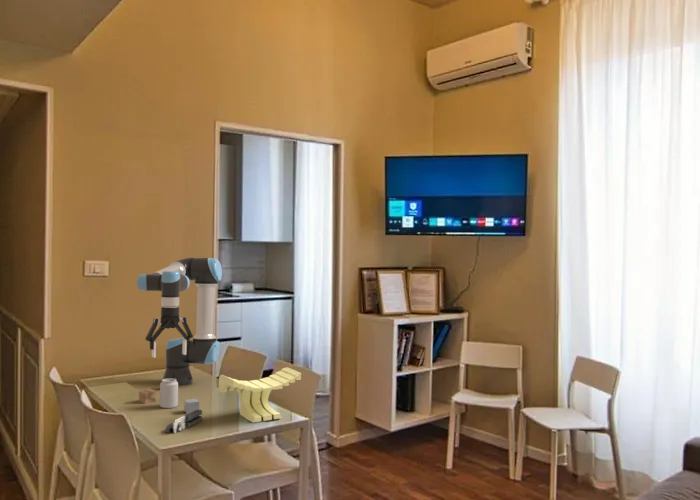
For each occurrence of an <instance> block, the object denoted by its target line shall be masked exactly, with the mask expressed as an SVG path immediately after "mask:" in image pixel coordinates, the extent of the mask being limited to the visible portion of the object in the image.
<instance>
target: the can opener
mask: <svg viewBox="0 0 700 500" xmlns="http://www.w3.org/2000/svg"><path fill="white" fill-rule="evenodd" d="M202 414H203V410H201V409H199V410H195V411H193V412H191V413H189V414H185V415H183V416H182V415H181V417H179V418H176V419H174V420H173V422H170V423H169V424H168V425H167V426H166V427H165V429H164V430H165V431H164V432H165V433H167V434H172V433H174V434H176V433H181V432H183V430H184V429H186V428H187V429H188V428H190V427H192V426H195V425H196V424H199V423H200V422H201V421H202V420H203V417H202V416H201V415H202Z"/></svg>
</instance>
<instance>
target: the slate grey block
mask: <svg viewBox="0 0 700 500" xmlns="http://www.w3.org/2000/svg"><path fill="white" fill-rule="evenodd" d="M183 404H184V406H183V407H184V409H183V410H184V411H183V412H185V413H186V414H185V415H187V414H189V413H191V412H193V411H195V410H200V401H199V399H198V398H191V399H189V398H188V399H184V403H183Z"/></svg>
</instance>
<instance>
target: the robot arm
mask: <svg viewBox="0 0 700 500" xmlns="http://www.w3.org/2000/svg"><path fill="white" fill-rule="evenodd" d="M222 269H223V268H222V265H221V262H220V261H219V259H217V258H215V257H214V258H213V257H185V258H180V259H178V260H176V261H173V262H171V263H169V264H168V266H166V267H164V268H161V269H159V270H157V271H155V272H152V273H149V274H148V273H143V274H139V275H138V277H137V279H136V283H137V284H136V285H137V288H138V290H139V291H145V292H161V298H160V299H161V301H160V304H161V305H160V306H161V308H160V318H156V317H155V318H153V320H152V325H151V326H150V329H149V330H148V332H147V335H146V337H145V341H147V342H149V350H151V357H152V358H155V359H156V358H157V357H156V356H157V355H156V354H157V350H156V349H157V339H158V337H159V336H160V335H161V334H162V333H163V331H164V330H165V329H176V330H177V331H178V332H179V334H180V335H181V336H182V337H177V338H171V339H169V340H167V341H166V347H165V371H164V373H163V375H162V378H161V381H162V380H163V379H169V378H172V379H176V381H177V382H178V387H179V386H188V385H191V384H193V382H194V381H193V380H194V379H193V378H194V377H193V375H192V372H191V368H190V365H191V364H192V365H193V364H196V365H197V364H199V365H200V364H201V365H202V364H203V365H214V364H215V363H216V362H217V360H218V358H219V354H220V348H221V346H220V345H221V343H220V342H219V341H218V340H217V336H216V335H215V334H214V325H215V324H214V322H215V321H214V319H215V293H216V291H215V288H216V287H217V286H218V285H219V282H221V281H222V278H223V277H222V276H223V270H222ZM190 281H194V285H195V286H196V287H197V293H196V294H197V296H196V297H197V298H196V299H197V300H196V301H197V302H196V327H195V328H196V330H195V331H196V332H195V335H194V336H193V333H192V331H191V329H190V326H189V325H188V321H187V317H185V316H182V317H180V307H179V306H180V293H181V292H184V291H187V289H189V287H190V283H191V282H190ZM180 322H181V324H182V327H183V328H182V327H181V326H180V325H179V323H180ZM160 323H161V325H160V326H159V327H158V329H156V328H157V326H158V325H159V324H160ZM183 329H184V330H185V331H184V330H183ZM155 330H156V331H155ZM191 339H192V340H191Z"/></svg>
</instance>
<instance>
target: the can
mask: <svg viewBox="0 0 700 500" xmlns="http://www.w3.org/2000/svg"><path fill="white" fill-rule="evenodd" d="M162 379H163V378H162ZM162 379H161V382H160V383H159V407H160V408H161V409H173V408H176V407H177V406H178V405H179V386H178V382H177V381H176V379H172V378H169V379H163V380H162Z"/></svg>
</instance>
